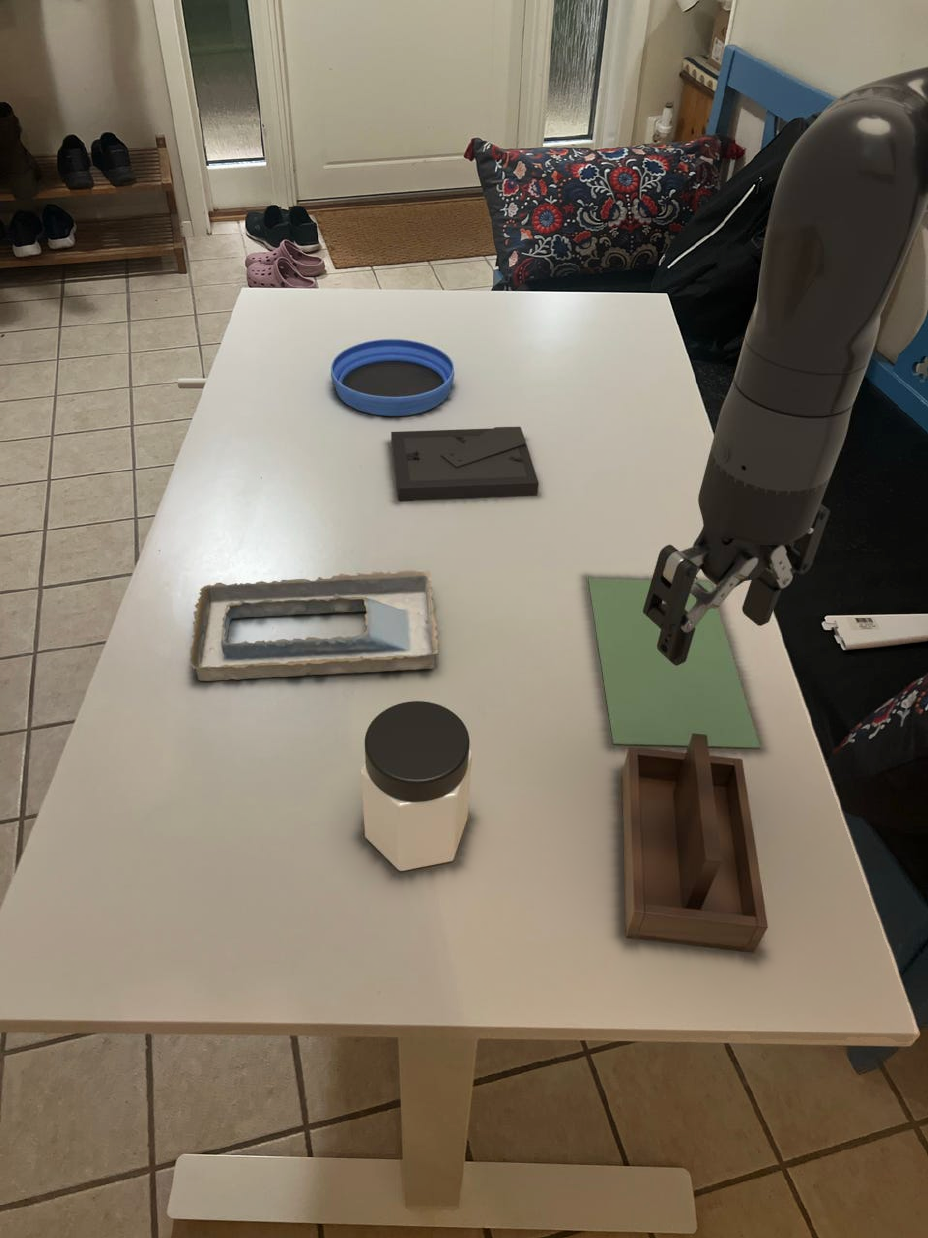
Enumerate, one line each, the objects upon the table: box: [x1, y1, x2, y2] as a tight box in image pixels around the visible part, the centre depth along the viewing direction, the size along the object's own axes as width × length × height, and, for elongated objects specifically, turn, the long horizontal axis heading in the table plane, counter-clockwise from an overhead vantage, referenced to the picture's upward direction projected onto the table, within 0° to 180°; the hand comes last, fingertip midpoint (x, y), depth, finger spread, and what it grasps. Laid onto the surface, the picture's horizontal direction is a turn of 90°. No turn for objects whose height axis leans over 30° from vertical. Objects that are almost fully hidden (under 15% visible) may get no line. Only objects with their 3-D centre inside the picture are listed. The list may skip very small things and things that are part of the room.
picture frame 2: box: [390, 426, 540, 502], centre depth 116 cm, size 13×2×18 cm
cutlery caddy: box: [621, 733, 769, 953], centre depth 72 cm, size 16×10×9 cm, turn 174°
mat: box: [587, 577, 761, 750], centre depth 93 cm, size 24×14×1 cm, turn 0°
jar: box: [360, 700, 473, 872], centre depth 72 cm, size 9×8×12 cm
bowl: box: [330, 338, 455, 417], centre depth 131 cm, size 18×18×4 cm
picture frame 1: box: [189, 569, 439, 682], centre depth 92 cm, size 13×25×3 cm, turn 97°
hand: (714, 637), depth 67 cm, fingers open, 8 cm apart
